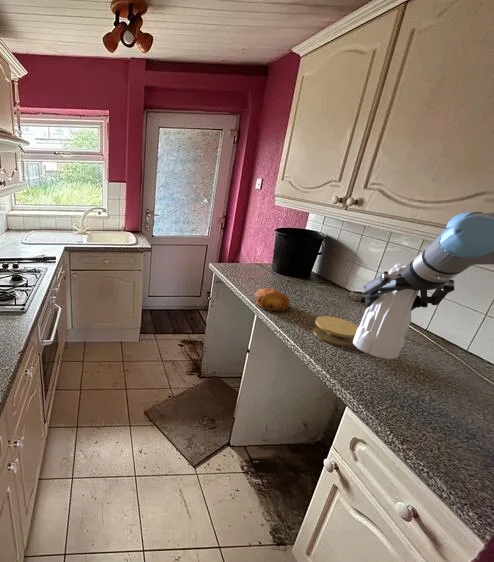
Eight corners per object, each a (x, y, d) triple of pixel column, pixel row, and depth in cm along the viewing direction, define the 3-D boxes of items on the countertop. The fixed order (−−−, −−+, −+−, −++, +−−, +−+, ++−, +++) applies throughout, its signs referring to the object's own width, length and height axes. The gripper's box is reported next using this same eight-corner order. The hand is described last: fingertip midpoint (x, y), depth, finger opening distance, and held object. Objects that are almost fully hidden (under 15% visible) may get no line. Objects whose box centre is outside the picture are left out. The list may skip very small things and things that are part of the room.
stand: (347, 330, 121) (351, 319, 119) (363, 350, 109) (368, 337, 107) (307, 325, 124) (311, 313, 122) (319, 343, 112) (323, 331, 110)
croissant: (252, 312, 138) (255, 297, 134) (253, 295, 150) (256, 280, 147) (288, 318, 133) (293, 302, 129) (286, 300, 145) (290, 285, 141)
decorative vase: (401, 363, 84) (440, 278, 75) (353, 350, 89) (384, 269, 80) (394, 344, 93) (428, 266, 83) (351, 333, 98) (379, 258, 88)
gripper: (374, 275, 73) (341, 309, 92) (498, 292, 65) (433, 326, 84) (375, 248, 75) (343, 287, 95) (494, 261, 67) (432, 301, 87)
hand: (385, 305), depth 89 cm, fingers closed on decorative vase, 8 cm apart
